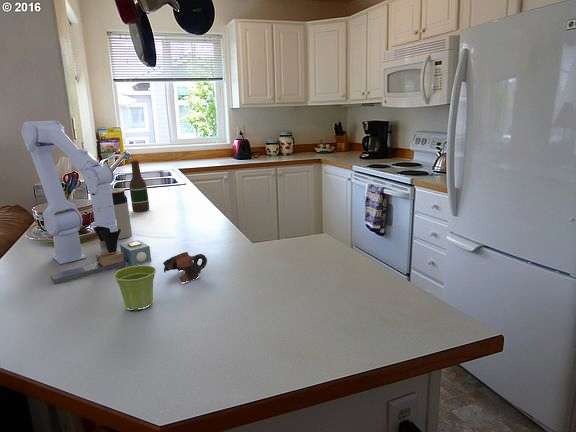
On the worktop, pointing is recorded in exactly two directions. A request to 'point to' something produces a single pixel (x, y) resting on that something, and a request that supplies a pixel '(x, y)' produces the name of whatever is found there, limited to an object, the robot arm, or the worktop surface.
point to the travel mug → (121, 212)
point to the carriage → (108, 255)
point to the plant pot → (136, 285)
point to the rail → (83, 271)
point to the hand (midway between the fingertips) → (109, 250)
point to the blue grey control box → (136, 253)
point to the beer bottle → (138, 189)
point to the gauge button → (134, 244)
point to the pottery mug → (186, 265)
